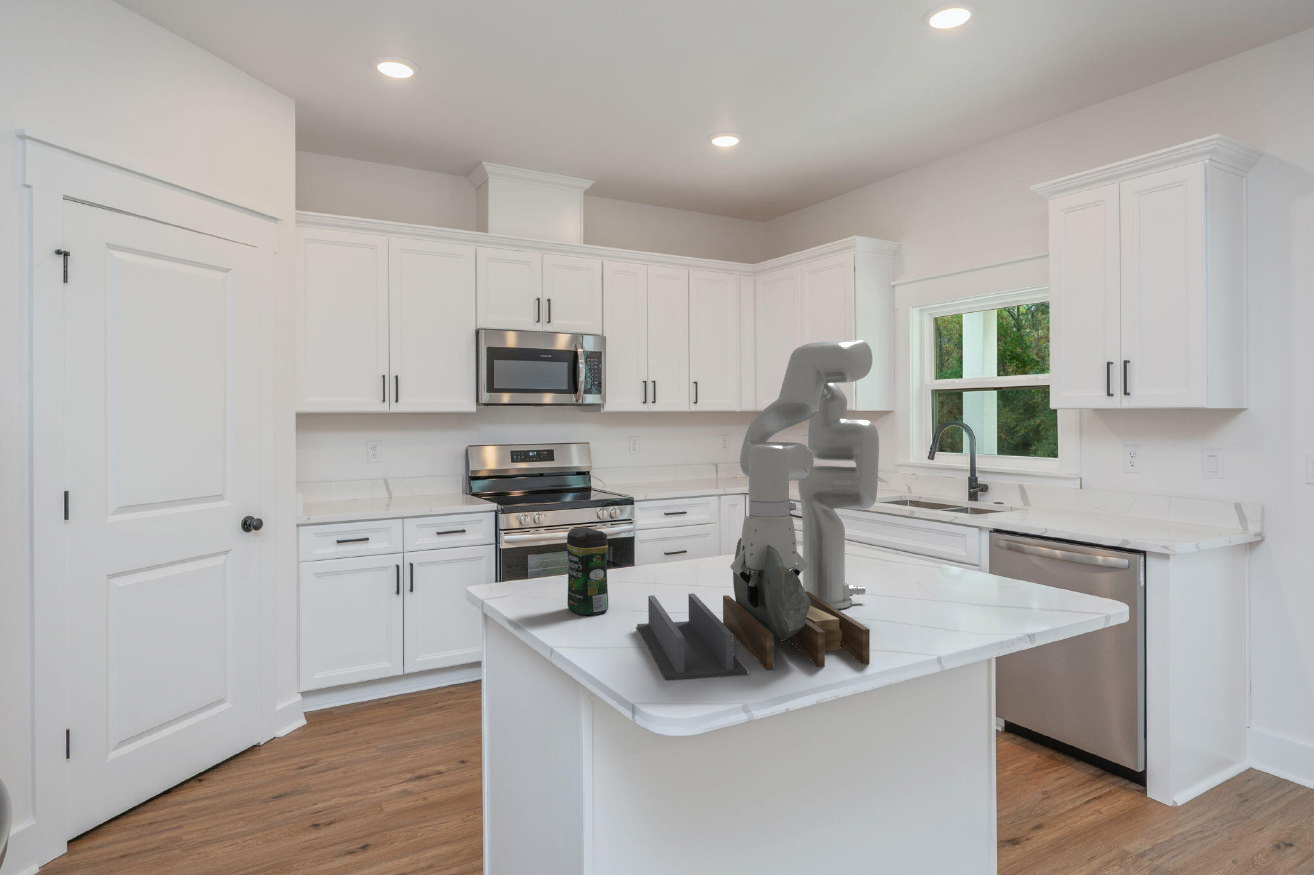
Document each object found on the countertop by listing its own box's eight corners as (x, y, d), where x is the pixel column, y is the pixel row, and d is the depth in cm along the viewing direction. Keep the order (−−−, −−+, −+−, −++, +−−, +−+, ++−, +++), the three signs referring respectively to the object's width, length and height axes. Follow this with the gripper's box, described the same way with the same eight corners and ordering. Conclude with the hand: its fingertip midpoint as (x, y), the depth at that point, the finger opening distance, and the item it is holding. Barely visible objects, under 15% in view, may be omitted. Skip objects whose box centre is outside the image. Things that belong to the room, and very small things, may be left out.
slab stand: (703, 623, 157) (703, 591, 157) (747, 674, 125) (747, 635, 125) (637, 626, 155) (637, 595, 154) (665, 680, 123) (665, 640, 123)
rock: (820, 662, 131) (816, 548, 130) (788, 667, 129) (783, 552, 128) (753, 623, 156) (750, 527, 156) (726, 627, 154) (722, 530, 154)
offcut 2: (808, 624, 151) (808, 614, 150) (841, 640, 139) (841, 630, 139) (786, 627, 149) (786, 616, 149) (818, 643, 138) (818, 632, 138)
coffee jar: (562, 608, 170) (561, 527, 169) (593, 604, 174) (592, 524, 174) (581, 618, 162) (580, 532, 161) (613, 613, 166) (613, 529, 165)
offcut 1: (807, 614, 151) (807, 604, 151) (839, 629, 139) (839, 619, 139) (785, 616, 149) (785, 606, 149) (815, 632, 138) (815, 621, 138)
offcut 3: (810, 634, 151) (810, 624, 151) (840, 652, 139) (840, 641, 139) (787, 636, 149) (787, 626, 149) (815, 654, 138) (815, 643, 138)
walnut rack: (808, 619, 159) (808, 591, 159) (869, 663, 131) (869, 629, 131) (723, 624, 156) (722, 595, 156) (766, 670, 128) (766, 635, 127)
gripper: (804, 506, 147) (804, 598, 148) (719, 508, 144) (720, 602, 145) (819, 511, 140) (819, 607, 140) (730, 513, 137) (730, 612, 137)
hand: (769, 604), depth 142 cm, fingers closed on rock, 5 cm apart
